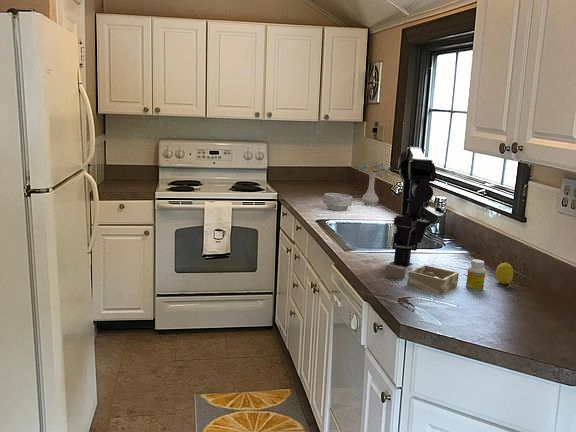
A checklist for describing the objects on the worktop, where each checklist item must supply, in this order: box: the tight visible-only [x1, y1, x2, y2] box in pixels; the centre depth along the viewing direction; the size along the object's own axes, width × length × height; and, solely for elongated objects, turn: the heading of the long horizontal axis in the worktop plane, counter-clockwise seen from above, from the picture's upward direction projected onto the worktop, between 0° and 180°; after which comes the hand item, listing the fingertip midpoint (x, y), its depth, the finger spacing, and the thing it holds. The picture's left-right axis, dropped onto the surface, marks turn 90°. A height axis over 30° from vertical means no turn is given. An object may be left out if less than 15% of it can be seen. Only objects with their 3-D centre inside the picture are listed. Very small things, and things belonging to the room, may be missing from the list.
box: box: [406, 264, 460, 295], centre depth 192 cm, size 12×12×5 cm
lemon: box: [495, 261, 514, 285], centre depth 199 cm, size 6×6×8 cm
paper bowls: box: [323, 192, 353, 212], centre depth 317 cm, size 15×15×8 cm
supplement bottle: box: [465, 258, 486, 292], centre depth 191 cm, size 5×5×10 cm
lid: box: [384, 263, 407, 280], centre depth 199 cm, size 12×12×5 cm
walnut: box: [426, 272, 436, 277], centre depth 195 cm, size 3×3×3 cm
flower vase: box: [357, 160, 392, 207], centre depth 335 cm, size 13×18×25 cm
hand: (412, 244), depth 194 cm, fingers open, 9 cm apart
